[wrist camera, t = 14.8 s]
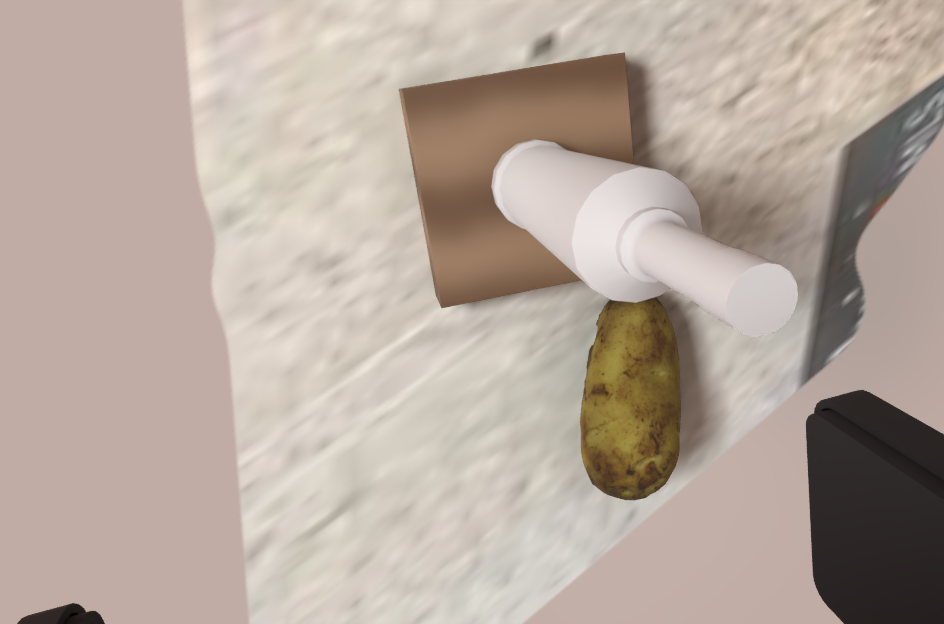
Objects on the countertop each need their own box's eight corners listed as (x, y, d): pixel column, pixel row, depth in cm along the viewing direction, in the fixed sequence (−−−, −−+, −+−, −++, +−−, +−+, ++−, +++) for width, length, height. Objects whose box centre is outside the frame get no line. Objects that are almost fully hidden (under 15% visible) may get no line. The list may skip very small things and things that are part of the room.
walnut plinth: (398, 89, 42) (402, 89, 39) (606, 54, 44) (624, 52, 41) (435, 294, 46) (441, 308, 44) (624, 257, 48) (641, 267, 45)
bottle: (489, 228, 43) (666, 401, 19) (486, 140, 41) (673, 210, 18) (573, 221, 43) (841, 380, 20) (572, 134, 42) (863, 195, 18)
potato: (704, 313, 50) (767, 353, 43) (621, 467, 53) (666, 529, 45) (605, 270, 48) (653, 304, 40) (523, 432, 51) (554, 492, 43)
